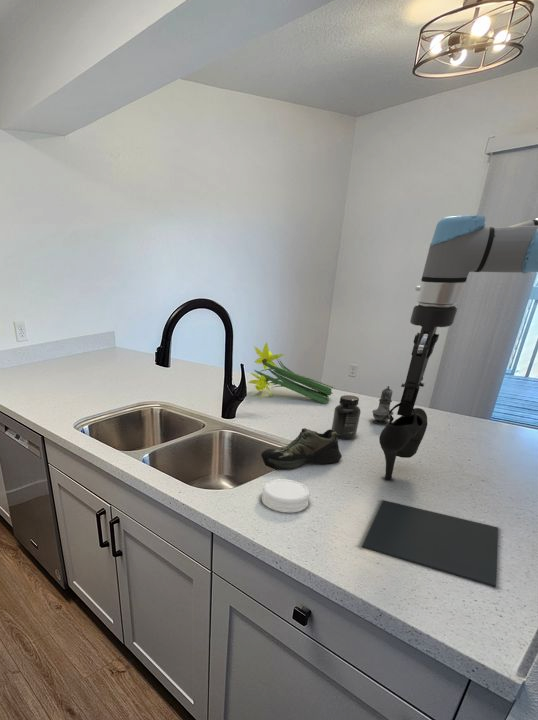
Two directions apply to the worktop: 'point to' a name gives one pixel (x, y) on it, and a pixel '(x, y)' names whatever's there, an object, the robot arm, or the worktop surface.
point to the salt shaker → (383, 407)
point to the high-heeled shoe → (402, 436)
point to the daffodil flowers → (263, 380)
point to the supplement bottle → (346, 417)
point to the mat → (435, 541)
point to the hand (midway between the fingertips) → (404, 414)
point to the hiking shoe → (304, 451)
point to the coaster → (285, 495)
